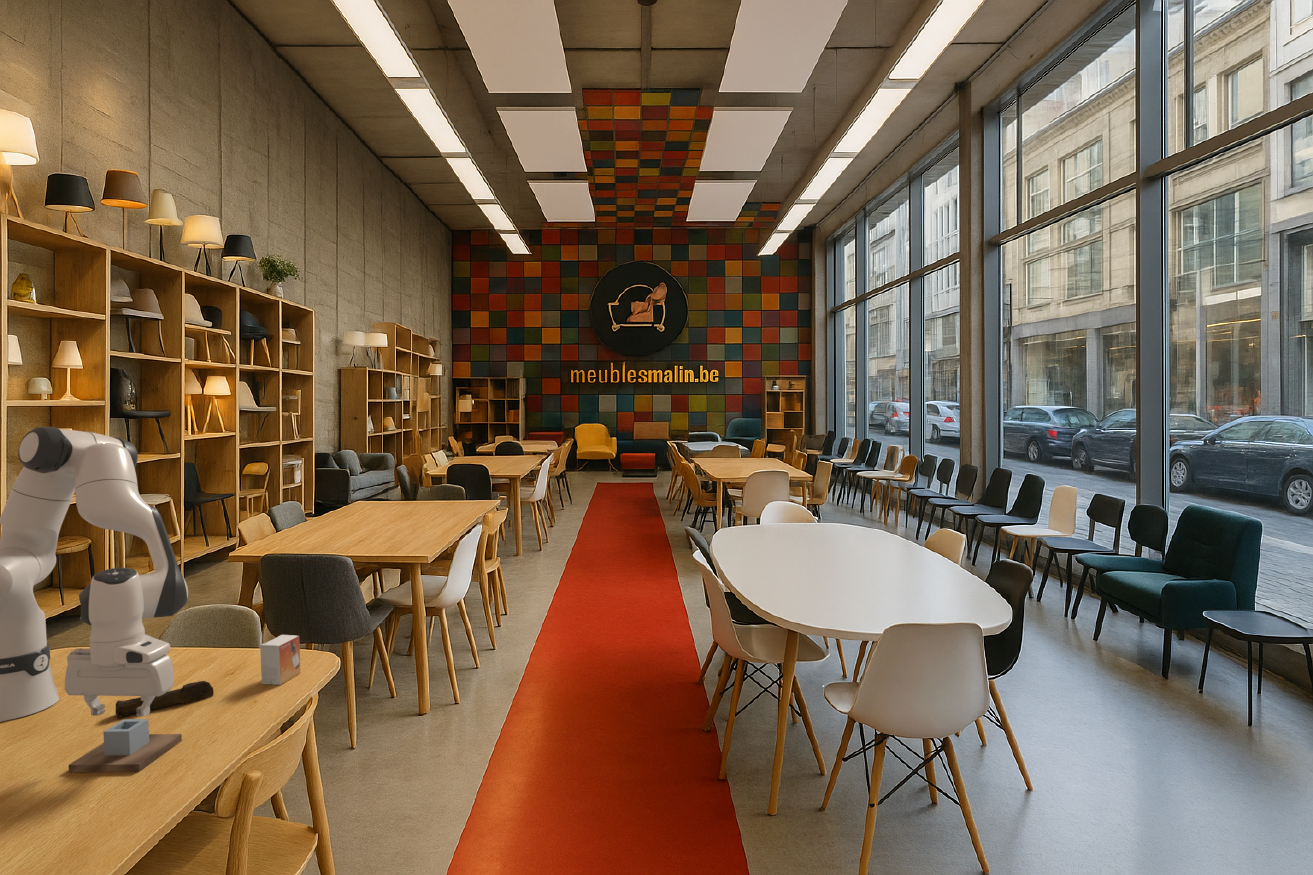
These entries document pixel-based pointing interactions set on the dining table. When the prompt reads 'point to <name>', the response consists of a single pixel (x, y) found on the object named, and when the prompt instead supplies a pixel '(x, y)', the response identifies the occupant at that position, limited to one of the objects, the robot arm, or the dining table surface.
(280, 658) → the small box
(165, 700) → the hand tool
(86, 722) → the dining table surface
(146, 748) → the mounting plate
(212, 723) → the dining table surface
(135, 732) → the collar
